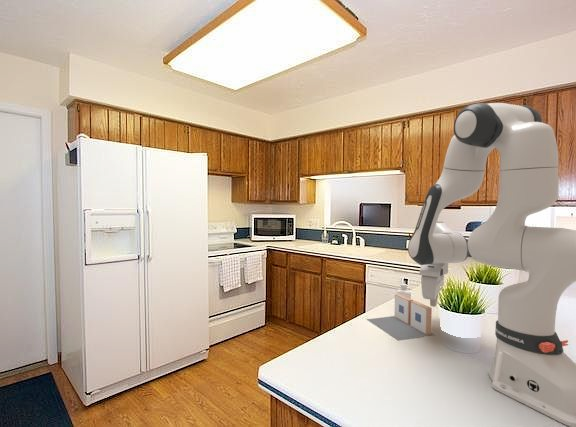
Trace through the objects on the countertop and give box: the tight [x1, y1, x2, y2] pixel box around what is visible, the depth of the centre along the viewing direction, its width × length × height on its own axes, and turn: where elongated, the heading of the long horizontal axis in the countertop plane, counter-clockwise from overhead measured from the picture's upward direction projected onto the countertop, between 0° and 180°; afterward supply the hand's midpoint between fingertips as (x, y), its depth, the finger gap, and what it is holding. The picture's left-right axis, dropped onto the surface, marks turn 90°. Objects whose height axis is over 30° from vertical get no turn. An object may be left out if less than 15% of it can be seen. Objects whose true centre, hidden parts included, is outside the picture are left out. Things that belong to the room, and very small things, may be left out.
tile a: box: [410, 300, 433, 335], centre depth 106 cm, size 8×2×9 cm, turn 17°
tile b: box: [394, 293, 414, 325], centre depth 115 cm, size 8×2×9 cm, turn 17°
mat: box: [366, 315, 436, 342], centre depth 109 cm, size 19×15×1 cm
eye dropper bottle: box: [396, 280, 412, 299], centre depth 128 cm, size 4×6×12 cm
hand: (433, 305), depth 108 cm, fingers closed
